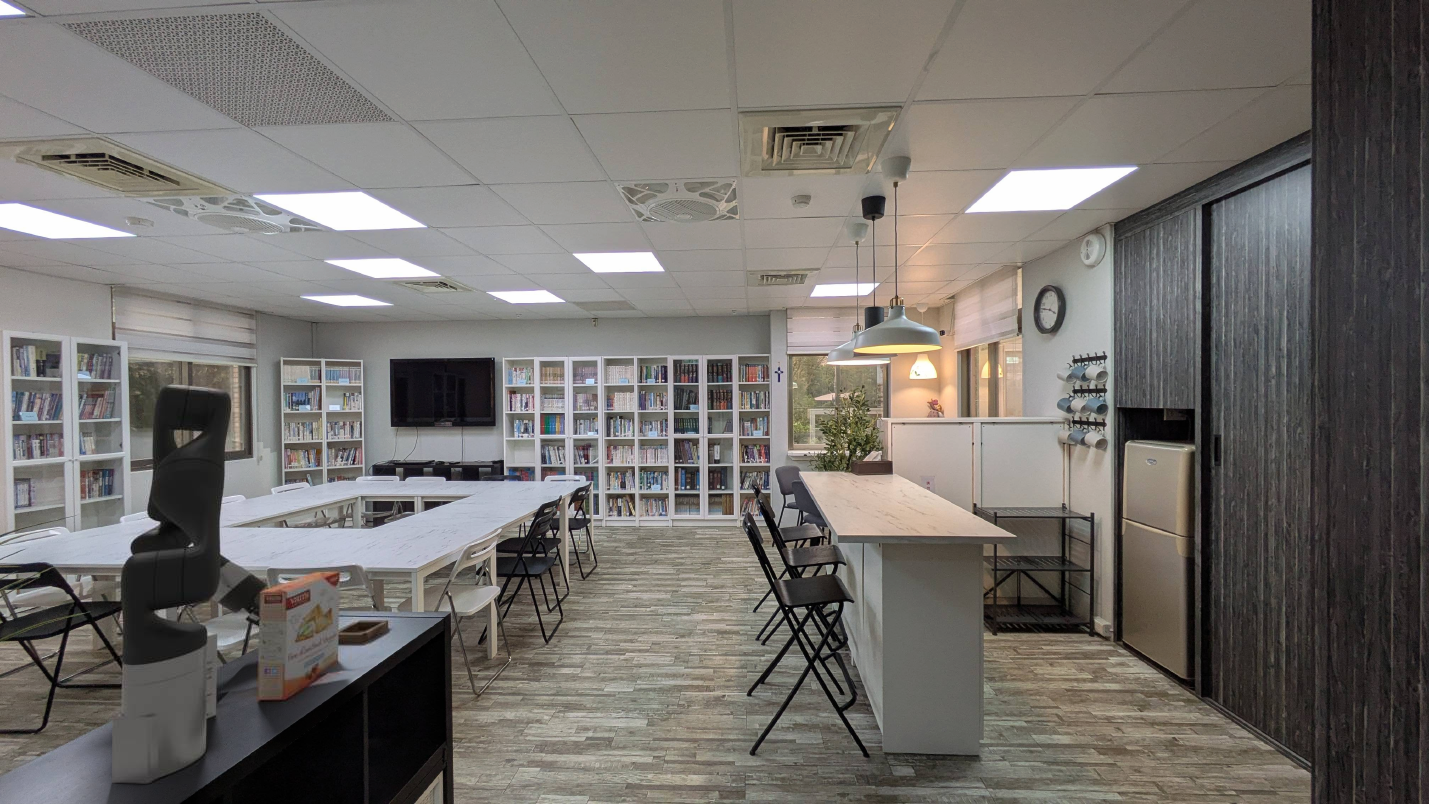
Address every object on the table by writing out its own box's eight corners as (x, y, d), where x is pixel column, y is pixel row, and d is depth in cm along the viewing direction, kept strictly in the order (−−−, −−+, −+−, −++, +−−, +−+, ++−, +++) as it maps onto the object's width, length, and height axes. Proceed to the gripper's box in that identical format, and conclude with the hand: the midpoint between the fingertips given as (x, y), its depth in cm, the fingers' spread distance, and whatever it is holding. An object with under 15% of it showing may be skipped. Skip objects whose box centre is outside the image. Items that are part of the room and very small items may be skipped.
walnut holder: (364, 650, 121) (364, 635, 121) (326, 650, 122) (326, 635, 122) (393, 633, 130) (393, 619, 131) (357, 633, 131) (357, 619, 131)
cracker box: (286, 701, 99) (287, 590, 100) (255, 702, 99) (256, 591, 100) (341, 667, 113) (341, 570, 114) (313, 667, 113) (314, 570, 114)
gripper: (236, 581, 111) (305, 627, 116) (260, 565, 124) (321, 608, 129) (202, 610, 109) (275, 657, 114) (231, 591, 122) (295, 633, 126)
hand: (299, 630), depth 121 cm, fingers closed on terracotta jug, 4 cm apart
